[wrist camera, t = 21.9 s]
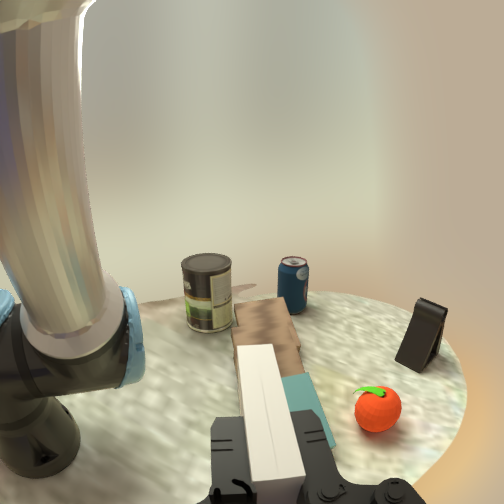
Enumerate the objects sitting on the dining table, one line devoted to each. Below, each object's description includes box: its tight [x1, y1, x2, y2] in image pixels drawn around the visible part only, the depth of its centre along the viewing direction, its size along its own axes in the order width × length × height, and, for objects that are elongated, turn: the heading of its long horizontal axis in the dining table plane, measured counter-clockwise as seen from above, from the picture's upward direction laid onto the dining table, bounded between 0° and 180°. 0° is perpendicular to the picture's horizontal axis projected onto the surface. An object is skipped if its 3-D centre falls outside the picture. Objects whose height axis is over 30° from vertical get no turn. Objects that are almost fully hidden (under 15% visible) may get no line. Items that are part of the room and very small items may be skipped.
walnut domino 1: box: [234, 297, 301, 353], centre depth 60 cm, size 10×2×12 cm
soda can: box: [277, 256, 309, 314], centre depth 73 cm, size 7×7×12 cm
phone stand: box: [395, 298, 448, 373], centre depth 52 cm, size 9×6×12 cm, turn 125°
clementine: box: [355, 386, 402, 432], centre depth 39 cm, size 8×7×7 cm
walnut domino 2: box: [231, 321, 294, 350], centre depth 52 cm, size 10×2×12 cm
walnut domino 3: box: [233, 342, 305, 378], centre depth 46 cm, size 10×2×12 cm
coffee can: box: [181, 253, 233, 333], centre depth 67 cm, size 10×10×14 cm
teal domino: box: [281, 372, 336, 449], centre depth 39 cm, size 10×2×12 cm
